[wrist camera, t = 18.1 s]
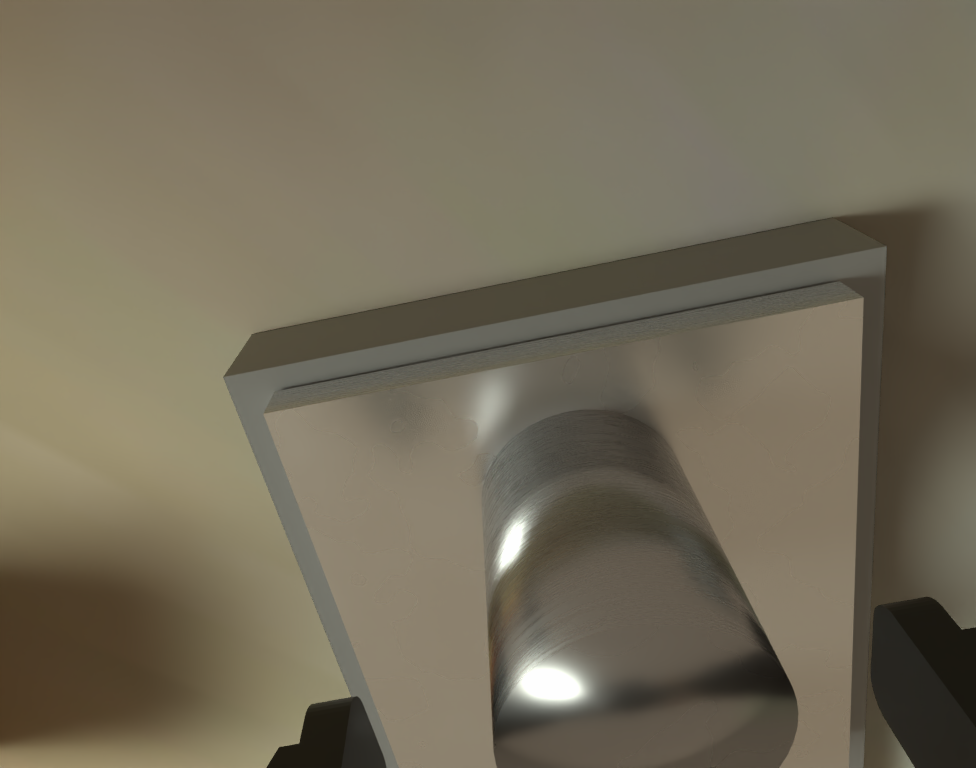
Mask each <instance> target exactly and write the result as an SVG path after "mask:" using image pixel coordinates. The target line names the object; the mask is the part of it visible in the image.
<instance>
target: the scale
mask: <svg viewBox="0 0 976 768" xmlns="http://www.w3.org/2000/svg"><path fill="white" fill-rule="evenodd" d="M886 255H887V246H886V245H884V244H882V243H880V242H878V241H876V240H874V239H872V238H871V237H869V236H867V235H865V234H863V233H861V232H859V231H857V230H855V229H854V228H852V227H850V226H848V225H846V224H844V223H842V222H840V221H838V220H837V219H835V218H829V219H825V220H820V221H815V222H810V223H805V224H800V225H795V226H790V227H785V228H780V229H775V230H770V231H765V232H760V233H755V234H750V235H745V236H740V237H735V238H730V239H725V240H720V241H715V242H710V243H705V244H700V245H695V246H690V247H685V248H680V249H675V250H670V251H665V252H660V253H655V254H650V255H645V256H640V257H635V258H630V259H625V260H620V261H615V262H610V263H605V264H600V265H595V266H590V267H585V268H580V269H575V270H570V271H565V272H560V273H555V274H550V275H545V276H540V277H535V278H530V279H525V280H520V281H515V282H510V283H506V284H501V285H496V286H491V287H486V288H481V289H476V290H471V291H466V292H461V293H456V294H451V295H446V296H441V297H436V298H431V299H426V300H421V301H416V302H411V303H406V304H401V305H396V306H391V307H386V308H381V309H376V310H371V311H366V312H361V313H356V314H351V315H346V316H341V317H336V318H331V319H326V320H321V321H316V322H311V323H306V324H301V325H296V326H291V327H286V328H281V329H276V330H271V331H266V332H261V333H256V334H252V335H251V337H250V338H249V340H248V341H247V343H246V344H245V346H244V347H243V349H242V350H241V352H240V353H239V355H238V356H237V358H236V359H235V361H234V362H233V363H232V365H231V366H230V368H229V369H228V371H227V372H226V374H225V375H224V377H223V378H224V380H225V383H226V385H227V388H228V390H229V393H230V395H231V398H232V400H233V403H234V405H235V408H236V410H237V413H238V415H239V418H240V420H241V423H242V425H243V428H244V430H245V433H246V435H247V438H248V440H249V443H250V445H251V448H252V450H253V453H254V455H255V458H256V460H257V463H258V465H259V468H260V470H261V472H262V475H263V477H264V480H265V482H266V485H267V487H268V490H269V492H270V495H271V497H272V500H273V502H274V505H275V507H276V510H277V512H278V515H279V517H280V520H281V522H282V525H283V527H284V530H285V532H286V535H287V537H288V540H289V542H290V545H291V547H292V550H293V552H294V555H295V557H296V560H297V562H298V565H299V567H300V570H301V572H302V575H303V577H304V580H305V582H306V585H307V587H308V590H309V592H310V595H311V597H312V600H313V602H314V604H315V607H316V609H317V612H318V614H319V617H320V619H321V622H322V624H323V627H324V629H325V632H326V634H327V637H328V639H329V642H330V644H331V647H332V649H333V652H334V654H335V657H336V659H337V662H338V664H339V667H340V669H341V672H342V674H343V677H344V679H345V682H346V684H347V687H348V689H349V692H350V694H351V697H355V696H357V697H359V698H360V699H361V701H362V703H363V705H364V708H365V710H366V713H367V715H368V718H369V721H370V723H371V726H372V728H373V731H374V733H375V736H376V738H377V741H378V743H379V746H380V748H381V751H382V753H383V756H384V759H385V763H386V767H387V768H399V766H398V764H397V761H396V759H395V756H394V753H393V751H392V748H391V746H390V743H389V740H388V738H387V735H386V733H385V730H384V727H383V725H382V722H381V720H380V717H379V714H378V712H377V709H376V707H375V704H374V701H373V699H372V696H371V694H370V691H369V688H368V686H367V683H366V681H365V678H364V675H363V673H362V670H361V667H360V665H359V662H358V660H357V657H356V654H355V652H354V649H353V647H352V644H351V641H350V639H349V636H348V634H347V631H346V628H345V626H344V623H343V621H342V618H341V615H340V613H339V610H338V608H337V605H336V602H335V600H334V597H333V595H332V592H331V589H330V587H329V584H328V582H327V579H326V576H325V574H324V571H323V569H322V566H321V563H320V561H319V558H318V556H317V553H316V550H315V548H314V545H313V542H312V540H311V537H310V535H309V532H308V529H307V527H306V524H305V522H304V519H303V516H302V514H301V511H300V509H299V506H298V503H297V501H296V498H295V496H294V493H293V490H292V488H291V485H290V483H289V480H288V477H287V475H286V472H285V470H284V467H283V464H282V462H281V459H280V457H279V454H278V451H277V449H276V446H275V444H274V441H273V438H272V436H271V433H270V431H269V428H268V425H267V423H266V420H265V417H264V415H263V413H264V411H265V409H266V407H267V405H268V403H269V401H270V400H271V398H272V396H273V394H274V392H275V391H280V390H285V389H291V388H296V387H301V386H306V385H311V384H316V383H321V382H326V381H331V380H337V379H342V378H347V377H352V376H357V375H362V374H367V373H372V372H377V371H383V370H388V369H393V368H398V367H403V366H408V365H413V364H418V363H424V362H429V361H434V360H439V359H444V358H449V357H454V356H459V355H464V354H470V353H475V352H480V351H485V350H490V349H495V348H500V347H505V346H510V345H516V344H521V343H526V342H531V341H536V340H541V339H546V338H551V337H557V336H562V335H567V334H572V333H577V332H582V331H587V330H592V329H597V328H603V327H608V326H613V325H618V324H623V323H628V322H633V321H638V320H643V319H649V318H654V317H659V316H664V315H669V314H674V313H679V312H684V311H690V310H695V309H700V308H705V307H710V306H715V305H720V304H725V303H730V302H736V301H741V300H746V299H751V298H756V297H761V296H766V295H771V294H776V293H782V292H787V291H792V290H797V289H802V288H807V287H812V286H817V285H823V284H828V283H833V282H838V281H840V282H842V283H843V284H845V285H846V286H847V287H849V288H850V289H852V290H853V291H855V292H856V293H858V294H859V295H861V296H862V297H863V298H864V302H863V334H862V365H861V397H860V429H859V461H858V492H857V524H856V556H855V588H854V619H853V651H852V683H851V715H850V746H849V768H863V766H864V744H865V722H866V700H867V678H868V655H869V633H870V611H871V589H872V566H873V544H874V522H875V500H876V477H877V455H878V433H879V411H880V389H881V366H882V344H883V322H884V300H885V277H886Z"/></svg>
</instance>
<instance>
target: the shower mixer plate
mask: <svg viewBox="0 0 976 768" xmlns="http://www.w3.org/2000/svg"><path fill="white" fill-rule="evenodd" d="M863 302H864V298H863V297H862V296H861V295H859V294H858V293H856V292H855V291H853V290H852V289H850V288H849V287H847V286H846V285H845V284H843V283H842V282H840V281H838V282H833V283H828V284H823V285H817V286H812V287H807V288H802V289H797V290H792V291H787V292H782V293H776V294H771V295H766V296H761V297H756V298H751V299H746V300H741V301H736V302H730V303H725V304H720V305H715V306H710V307H705V308H700V309H695V310H690V311H684V312H679V313H674V314H669V315H664V316H659V317H654V318H649V319H643V320H638V321H633V322H628V323H623V324H618V325H613V326H608V327H603V328H597V329H592V330H587V331H582V332H577V333H572V334H567V335H562V336H557V337H551V338H546V339H541V340H536V341H531V342H526V343H521V344H516V345H510V346H505V347H500V348H495V349H490V350H485V351H480V352H475V353H470V354H464V355H459V356H454V357H449V358H444V359H439V360H434V361H429V362H424V363H418V364H413V365H408V366H403V367H398V368H393V369H388V370H383V371H377V372H372V373H367V374H362V375H357V376H352V377H347V378H342V379H337V380H331V381H326V382H321V383H316V384H311V385H306V386H301V387H296V388H291V389H285V390H280V391H275V392H274V394H273V396H272V398H271V400H270V401H269V403H268V405H267V407H266V409H265V411H264V413H263V415H264V417H265V420H266V423H267V425H268V428H269V431H270V433H271V436H272V438H273V441H274V444H275V446H276V449H277V451H278V454H279V457H280V459H281V462H282V464H283V467H284V470H285V472H286V475H287V477H288V480H289V483H290V485H291V488H292V490H293V493H294V496H295V498H296V501H297V503H298V506H299V509H300V511H301V514H302V516H303V519H304V522H305V524H306V527H307V529H308V532H309V535H310V537H311V540H312V542H313V545H314V548H315V550H316V553H317V556H318V558H319V561H320V563H321V566H322V569H323V571H324V574H325V576H326V579H327V582H328V584H329V587H330V589H331V592H332V595H333V597H334V600H335V602H336V605H337V608H338V610H339V613H340V615H341V618H342V621H343V623H344V626H345V628H346V631H347V634H348V636H349V639H350V641H351V644H352V647H353V649H354V652H355V654H356V657H357V660H358V662H359V665H360V667H361V670H362V673H363V675H364V678H365V681H366V683H367V686H368V688H369V691H370V694H371V696H372V699H373V701H374V704H375V707H376V709H377V712H378V714H379V717H380V720H381V722H382V725H383V727H384V730H385V733H386V735H387V738H388V740H389V743H390V746H391V748H392V751H393V753H394V756H395V759H396V761H397V764H398V766H399V768H497V766H496V762H495V757H494V752H493V732H492V711H491V690H490V669H489V649H488V628H487V607H486V586H485V565H484V545H483V524H482V490H483V484H484V481H485V477H486V474H487V472H488V470H489V468H490V466H491V464H492V462H493V460H494V459H495V457H496V456H497V454H498V453H499V452H500V450H501V449H502V448H503V447H504V446H505V445H506V444H507V443H508V442H509V441H510V440H511V439H512V438H513V437H514V436H516V435H517V434H518V433H520V432H521V431H523V430H524V429H525V428H527V427H528V426H530V425H532V424H534V423H536V422H538V421H540V420H542V419H545V418H548V417H550V416H553V415H557V414H561V413H564V412H569V411H577V410H604V411H611V412H616V413H620V414H624V415H626V416H629V417H632V418H635V419H637V420H639V421H640V422H642V423H644V424H646V425H648V426H649V427H650V428H652V429H653V430H655V431H656V432H657V433H658V434H659V435H660V436H661V437H662V438H663V439H665V441H666V442H667V443H668V445H669V446H670V447H671V448H672V450H673V452H674V454H675V456H676V457H677V459H678V461H679V463H680V465H681V467H682V469H683V471H684V473H685V475H686V477H687V479H688V481H689V483H690V485H691V487H692V489H693V491H694V493H695V495H696V497H697V499H698V501H699V503H700V505H701V507H702V509H703V511H704V513H705V515H706V517H707V519H708V521H709V522H710V524H711V526H712V528H713V530H714V532H715V534H716V536H717V538H718V540H719V542H720V544H721V546H722V548H723V550H724V552H725V554H726V556H727V558H728V560H729V562H730V564H731V566H732V568H733V570H734V572H735V574H736V576H737V578H738V580H739V582H740V584H741V586H742V588H743V590H744V592H745V594H746V596H747V598H748V600H749V602H750V604H751V606H752V608H753V610H754V612H755V614H756V615H757V617H758V619H759V621H760V623H761V625H762V627H763V629H764V631H765V633H766V635H767V637H768V639H769V641H770V643H771V645H772V647H773V649H774V651H775V653H776V655H777V657H778V659H779V661H780V663H781V665H782V667H783V669H784V671H785V673H786V675H787V677H788V679H789V681H790V683H791V685H792V687H793V690H794V693H795V696H796V699H797V706H798V726H797V731H796V735H795V739H794V742H793V744H792V746H791V749H790V751H789V753H788V755H787V757H786V758H785V760H784V761H783V763H782V764H781V766H780V767H779V768H849V746H850V715H851V683H852V651H853V619H854V588H855V556H856V524H857V492H858V461H859V429H860V397H861V365H862V334H863Z"/></svg>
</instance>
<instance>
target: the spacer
mask: <svg viewBox="0 0 976 768" xmlns="http://www.w3.org/2000/svg"><path fill="white" fill-rule="evenodd" d="M482 524H483V545H484V565H485V586H486V607H487V628H488V649H489V669H490V690H491V711H492V732H493V752H494V757H495V762H496V766H497V768H779V767H780V766H781V764H782V763H783V761H784V760H785V758H786V757H787V755H788V753H789V751H790V749H791V746H792V744H793V742H794V739H795V735H796V731H797V726H798V706H797V699H796V696H795V693H794V690H793V687H792V685H791V683H790V681H789V679H788V677H787V675H786V673H785V671H784V669H783V667H782V665H781V663H780V661H779V659H778V657H777V655H776V653H775V651H774V649H773V647H772V645H771V643H770V641H769V639H768V637H767V635H766V633H765V631H764V629H763V627H762V625H761V623H760V621H759V619H758V617H757V615H756V614H755V612H754V610H753V608H752V606H751V604H750V602H749V600H748V598H747V596H746V594H745V592H744V590H743V588H742V586H741V584H740V582H739V580H738V578H737V576H736V574H735V572H734V570H733V568H732V566H731V564H730V562H729V560H728V558H727V556H726V554H725V552H724V550H723V548H722V546H721V544H720V542H719V540H718V538H717V536H716V534H715V532H714V530H713V528H712V526H711V524H710V522H709V521H708V519H707V517H706V515H705V513H704V511H703V509H702V507H701V505H700V503H699V501H698V499H697V497H696V495H695V493H694V491H693V489H692V487H691V485H690V483H689V481H688V479H687V477H686V475H685V473H684V471H683V469H682V467H681V465H680V463H679V461H678V459H677V457H676V456H675V454H674V452H673V450H672V448H671V447H670V446H669V445H668V443H667V442H666V441H665V439H663V438H662V437H661V436H660V435H659V434H658V433H657V432H656V431H655V430H653V429H652V428H650V427H649V426H648V425H646V424H644V423H642V422H640V421H639V420H637V419H635V418H632V417H629V416H626V415H624V414H620V413H616V412H611V411H604V410H577V411H569V412H564V413H561V414H557V415H553V416H550V417H548V418H545V419H542V420H540V421H538V422H536V423H534V424H532V425H530V426H528V427H527V428H525V429H524V430H523V431H521V432H520V433H518V434H517V435H516V436H514V437H513V438H512V439H511V440H510V441H509V442H508V443H507V444H506V445H505V446H504V447H503V448H502V449H501V450H500V452H499V453H498V454H497V456H496V457H495V459H494V460H493V462H492V464H491V466H490V468H489V470H488V472H487V474H486V477H485V481H484V484H483V490H482Z"/></svg>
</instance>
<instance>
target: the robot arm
mask: <svg viewBox="0 0 976 768" xmlns="http://www.w3.org/2000/svg"><path fill="white" fill-rule="evenodd" d="M871 682H872V687H873V691H874V694H875V698H876V700H877V703H878V706H879V708H880V710H881V712H882V714H883V716H884V718H885V720H886V721H887V723H888V725H889V726H890V728H891V729H892V731H893V733H894V734H895V736H896V738H897V739H898V741H899V742H900V744H901V746H902V747H903V749H904V751H905V752H906V754H907V755H908V757H909V759H910V760H911V762H912V764H913V765H914V767H915V768H976V628H970V629H964V630H961V629H960V627H959V626H958V625H957V624H956V623H955V621H954V620H953V619H952V618H951V617H950V615H949V614H948V613H947V612H946V611H945V609H944V608H943V607H942V606H941V605H940V604H939V603H938V602H937V601H936V600H934V599H933V598H930V597H924V598H918V599H912V600H907V601H901V602H895V603H890V604H884V605H879V606H877V607H876V608H875V611H874V620H873V639H872V658H871ZM267 768H387V767H386V763H385V759H384V756H383V753H382V751H381V748H380V746H379V743H378V741H377V738H376V736H375V733H374V731H373V728H372V726H371V723H370V721H369V718H368V715H367V713H366V710H365V708H364V705H363V703H362V701H361V699H360V698H359V697H357V696H355V697H350V698H344V699H338V700H333V701H327V702H321V703H316V704H311V705H310V706H309V708H308V709H307V712H306V715H305V719H304V724H303V729H302V734H301V738H300V743H299V744H295V745H289V746H284V747H279V748H278V750H277V752H276V753H275V755H274V756H273V758H272V760H271V761H270V763H269V764H268V766H267Z"/></svg>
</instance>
